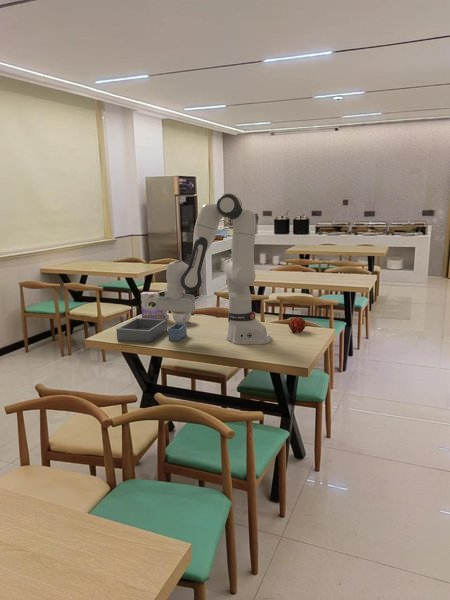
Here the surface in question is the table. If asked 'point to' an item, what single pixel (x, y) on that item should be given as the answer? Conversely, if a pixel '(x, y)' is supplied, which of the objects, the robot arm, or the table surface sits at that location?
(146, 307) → the candy box
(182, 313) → the lidded jar
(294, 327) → the dragon fruit
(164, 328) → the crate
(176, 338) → the tote
